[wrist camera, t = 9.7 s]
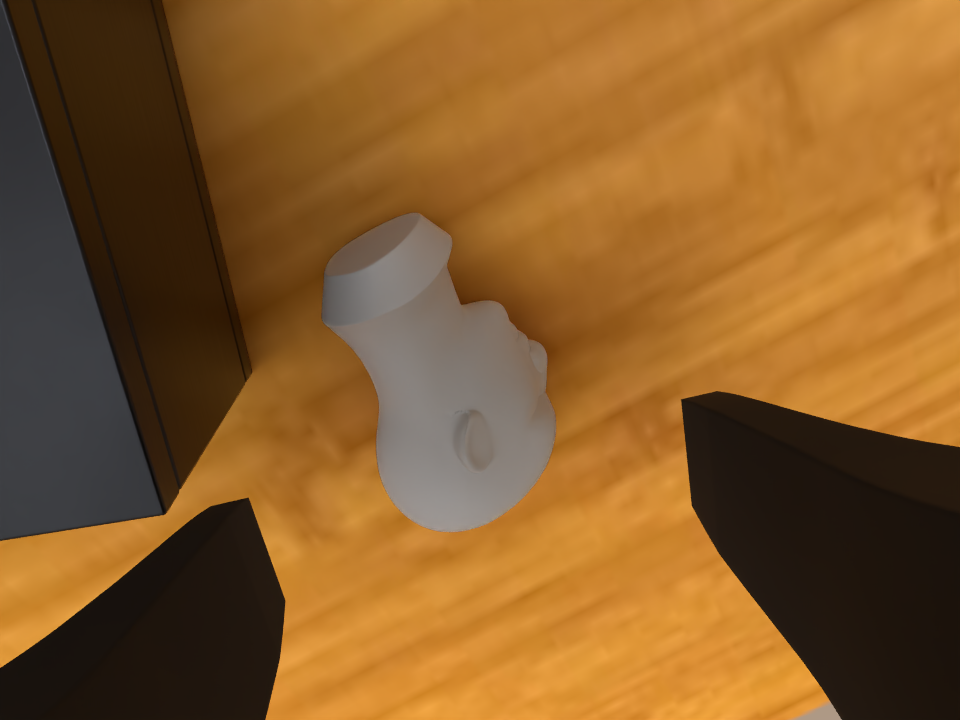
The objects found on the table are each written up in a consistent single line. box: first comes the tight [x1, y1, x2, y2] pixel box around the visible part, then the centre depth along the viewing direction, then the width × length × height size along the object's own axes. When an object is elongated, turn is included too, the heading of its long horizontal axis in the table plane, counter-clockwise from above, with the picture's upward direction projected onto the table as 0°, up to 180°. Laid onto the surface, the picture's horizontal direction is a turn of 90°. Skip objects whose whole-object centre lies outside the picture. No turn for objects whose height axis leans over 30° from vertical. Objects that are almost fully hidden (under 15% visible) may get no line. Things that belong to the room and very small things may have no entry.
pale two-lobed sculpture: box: [322, 213, 556, 532], centre depth 17 cm, size 4×8×5 cm
